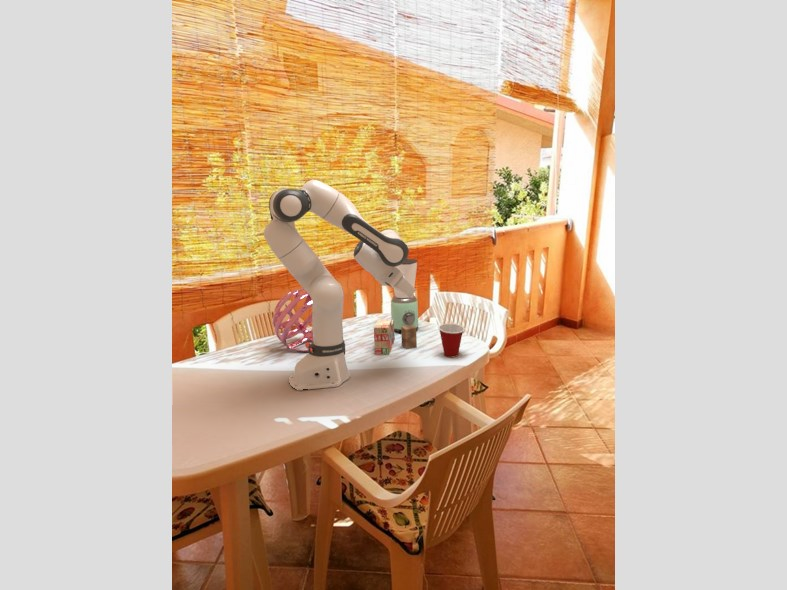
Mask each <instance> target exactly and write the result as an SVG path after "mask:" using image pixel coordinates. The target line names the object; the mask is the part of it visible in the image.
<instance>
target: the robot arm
mask: <svg viewBox="0 0 787 590" xmlns="http://www.w3.org/2000/svg"><path fill="white" fill-rule="evenodd" d="M268 209H269V210H268V211H269V214H270V220H271V221H270V222H269V223H268V224H267V225H266V226H265V228H264V230H263V238H264V239H265V241H266V243H267V246H269V249H270V250H271V251H272V253H273V254H274V255H275V256H276V258H277V259H278V260H279V261H280V262H281V264H282V265H283V266H284V267H285V268H286V270H287V271H288V272H289V274H290V275H291V276H292V277H293V279H294V280H296V281H297V282H298V284H299V285H300V286H301V287H302V288H304V289H305V290H304V291H305V292H307V293H308V294H309V295H310V297H311V299H312V307H311V308H312V311H311V313H312V322H311V330H312V331H313V342H312V343H310V342H308V341H306V342H305V343H304V344H305V345H304V347H305V348H306V350H308V352H307V354H306V355H304V356H303V357H302V358H301V359H299V360H298V361H297V363H296V364H295V367H294V373H293V374H291V375H290V376H289V377H288V383H290V384H289V386H290V385H291V386H292V387H293V388H295V389H298V390H297V391H304V390H303V389H308V390H317V389H327V388H335V387H340V386H341V385H342V384H343V383H344V382H346V381H348V379H350V377H351V374H350V372H349V369H348V365H347V360H346V342H345V340H344V331H343V329H344V328H343V314H344V298H345V297H344V296H345V295H344V290H343V286H342V285H341V283H340V282H339V281H337V280H336V279H335V276H333V275H332V273H331V272H330V271H329V270H328V268H326V266H325V265H324V263H323V262H322V261H321V259H320V258H319V257H318V255H317V254H316V253H315V251H314V250H313V249H312V248H311V246H310V245H309V243H307V241H306V240H305V239H304V238H303V236H301V233H299V232H298V230H297V228H296V224H295V223H296V221H298V220H300V219H301V218H303V217H304V215H306V214H307V213H308V212H310V213H313V214H314V215H316V216H318V217H319V218H321V219H322V220H323V221H325V222H327V223H329V224H331V225H333V226H335V227H337V228H339V229H341V230H342V231H344V232H346V233H348V234H350V235H352V236H353V237H355V238H356V239H357V240H359V242H358V243H357V244H356V246H355V248H354V250H353V259H354V260H355V261H356V263H358V264H359V265H360V267H362V269H364V270H365V271H366V272H368V273H370V274H371V276H372V277H373V278H374V279H375V281H377V282H378V283H379V284H380V285H382V286H383V287H386V286H387V287H391V288H393V290H394V289H396V290H398V291H400V292H402V293H404V294H405V295H407V296H408V297H410V298H413V297H414V296H415V293H416V288H415V286H414V287H413V285H412V284H411V283H410V282H409V281H408V280H407V279H406V278H405V277H404V276H403V273H402V272H401V271H400V270H399V269H398V268H397V267H396V266H399V265H401V264H402V263H404V262H405V261H406V259H408V256H409V251H410V250H409V247H408V245H407V243H406V242H404V241H403V239H402V237H401V236H400V235H399V233H398V232H397V231H396V230H394V229H392V228H391V229H389V228H388V229H387V228H386V229H384V230H381V231H379V230H378V229H377V228H375V227H374V226H372V225H371V224H370V223H368V222H367V221H366V220H365V219H364V218H363V216H362V215H361V214H360V212H359V211H358V209H357V207H356V206H355V205H354V203H353V202H352V201H351V200H350V199H349V198H348V197H347V196H346V195H344V194H343V193H342V192H341V191H340V192H339V191H338V190H337V189H335V188H334V187H332V186H330V185H328V184H326V183H325V182H323V181H320V180H318V179H310V180H308V181H306V183H304V185H303V186H302V188H301V189H297V188H296V189H295V188H288V187H287V188H284V187H283V188H280V189H277V190H276V191H274V192H273V193H272V195H271V196H270V198H269V201H268ZM291 386H290V387H291ZM292 387H291V388H292ZM293 388H292V389H293ZM295 389H294V390H295Z"/></svg>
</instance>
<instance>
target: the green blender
mask: <svg viewBox="0 0 787 590" xmlns="http://www.w3.org/2000/svg"><path fill="white" fill-rule="evenodd" d="M396 267H397V268H398V269H399V270H400V271H401V272H402V273H403V276H404V277H405V278H406V279H407V280H408V281H409V282H410V283H411V284H412V285H413V287H414V288H415V285H416V277H417V269H418V259H415V258H407V259H406V261H405V262H404V263H402V264H401V265H399V266H396ZM393 292H394V296H393V297H392V299H391V302H390V315H391V317H390V319H391V320H394V332H395V331H396V332H398V334H401V326H408V325H413V326H414V327H416V332H418V328H419V306H418V305H419V303H418V298H417V297H416V296H415V295H414V297H413V298H410V297H408V296H407V295H405V294H404V293H402V292H400V291H398V290H396V289H394V288H393Z"/></svg>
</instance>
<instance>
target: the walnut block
mask: <svg viewBox="0 0 787 590" xmlns="http://www.w3.org/2000/svg"><path fill="white" fill-rule="evenodd" d="M417 340H418V339H417V331H416V327H414V326H413V325H408V326H401V346H402V348H404V349H405V350H410V349H412V350H413V349H416V348H417V344H418V343H417Z"/></svg>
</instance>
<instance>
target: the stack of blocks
mask: <svg viewBox="0 0 787 590" xmlns="http://www.w3.org/2000/svg"><path fill="white" fill-rule="evenodd" d="M373 341H374V355H376V356H377V355H379V356H380V355H383V356H384V355H387V356H388V355H389V356H390V353H391V351H392V348H393V344H394V341H395V330H394V320H391V318H377V320H376V322H375V324H374V326H373Z"/></svg>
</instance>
